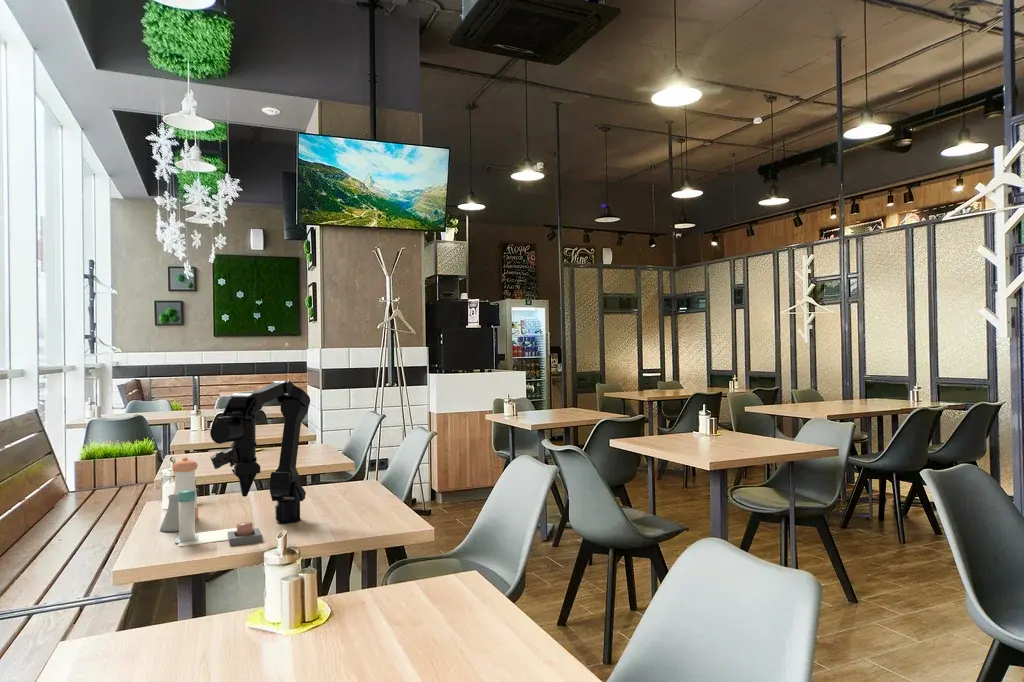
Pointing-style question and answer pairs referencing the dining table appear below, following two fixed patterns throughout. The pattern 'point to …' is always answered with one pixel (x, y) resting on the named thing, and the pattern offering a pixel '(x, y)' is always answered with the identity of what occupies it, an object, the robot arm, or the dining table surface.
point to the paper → (207, 537)
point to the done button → (244, 529)
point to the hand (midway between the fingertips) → (244, 496)
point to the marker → (186, 515)
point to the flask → (171, 515)
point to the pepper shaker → (185, 478)
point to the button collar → (244, 537)
